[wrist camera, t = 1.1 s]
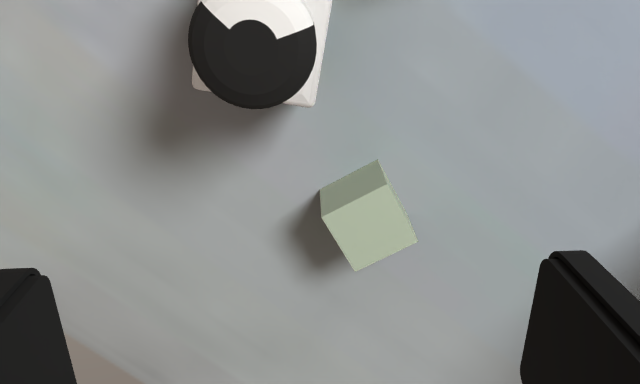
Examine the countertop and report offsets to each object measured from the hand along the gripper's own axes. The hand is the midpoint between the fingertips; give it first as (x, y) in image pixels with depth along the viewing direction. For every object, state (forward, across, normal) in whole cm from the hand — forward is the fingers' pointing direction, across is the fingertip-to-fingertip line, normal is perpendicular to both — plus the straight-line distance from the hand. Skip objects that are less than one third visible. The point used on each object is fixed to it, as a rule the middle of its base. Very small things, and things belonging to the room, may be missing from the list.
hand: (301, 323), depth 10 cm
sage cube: (+28, -5, +10) cm, 30 cm away
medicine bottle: (+28, +2, -3) cm, 28 cm away
